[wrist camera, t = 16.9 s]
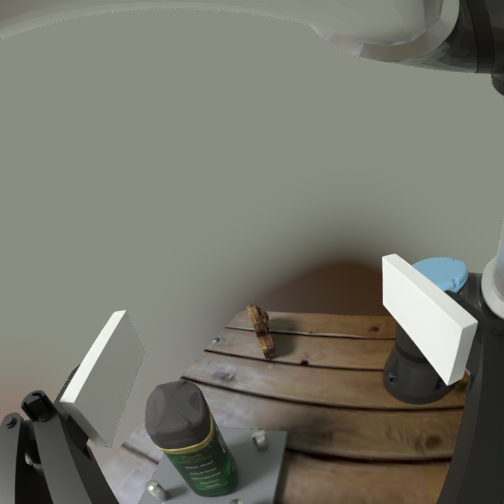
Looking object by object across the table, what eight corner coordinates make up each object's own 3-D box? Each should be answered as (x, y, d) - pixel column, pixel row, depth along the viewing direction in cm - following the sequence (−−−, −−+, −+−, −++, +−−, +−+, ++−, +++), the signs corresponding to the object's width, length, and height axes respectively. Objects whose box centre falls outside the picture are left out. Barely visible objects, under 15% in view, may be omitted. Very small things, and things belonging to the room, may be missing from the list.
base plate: (182, 426, 48) (172, 408, 46) (287, 435, 43) (283, 417, 41) (141, 509, 30) (124, 495, 28) (265, 538, 25) (258, 530, 23)
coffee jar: (245, 491, 32) (206, 424, 26) (194, 502, 31) (136, 437, 25) (232, 446, 41) (197, 368, 35) (187, 456, 40) (140, 381, 34)
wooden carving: (285, 360, 62) (278, 324, 59) (266, 367, 61) (257, 331, 58) (264, 325, 78) (257, 292, 74) (247, 330, 77) (239, 297, 73)
